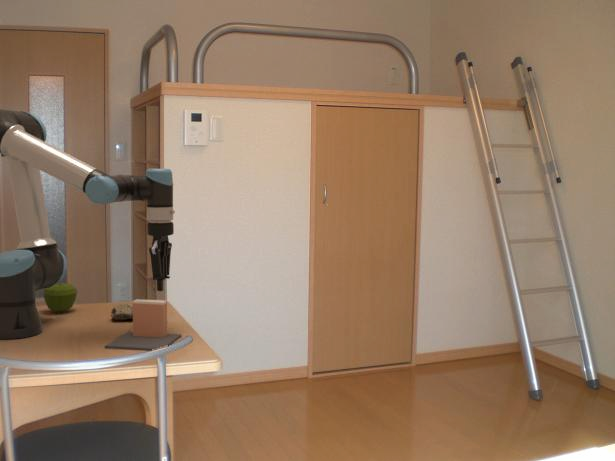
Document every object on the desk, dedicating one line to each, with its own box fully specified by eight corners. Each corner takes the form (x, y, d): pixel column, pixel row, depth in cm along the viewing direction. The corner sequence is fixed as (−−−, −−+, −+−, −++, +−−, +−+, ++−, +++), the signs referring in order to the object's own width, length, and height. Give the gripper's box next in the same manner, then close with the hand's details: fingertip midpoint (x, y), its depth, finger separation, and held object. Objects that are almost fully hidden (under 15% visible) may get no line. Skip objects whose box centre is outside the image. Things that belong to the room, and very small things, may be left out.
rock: (147, 322, 217) (147, 308, 217) (110, 323, 215) (110, 309, 214) (146, 315, 228) (146, 302, 227) (111, 316, 225) (111, 303, 224)
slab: (132, 335, 197) (132, 301, 196) (137, 333, 200) (136, 299, 199) (163, 337, 196) (163, 302, 195) (167, 334, 199) (166, 300, 198)
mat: (104, 347, 186) (104, 345, 186) (128, 333, 202) (128, 331, 202) (162, 351, 184) (162, 349, 184) (181, 336, 200) (181, 334, 200)
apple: (67, 316, 223) (66, 285, 222) (36, 314, 225) (36, 284, 224) (83, 309, 234) (82, 279, 233) (54, 307, 235) (53, 278, 234)
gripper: (165, 223, 196) (166, 306, 198) (179, 219, 209) (181, 297, 211) (139, 223, 197) (141, 305, 199) (155, 219, 210) (157, 296, 212)
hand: (161, 301), depth 205 cm, fingers closed
